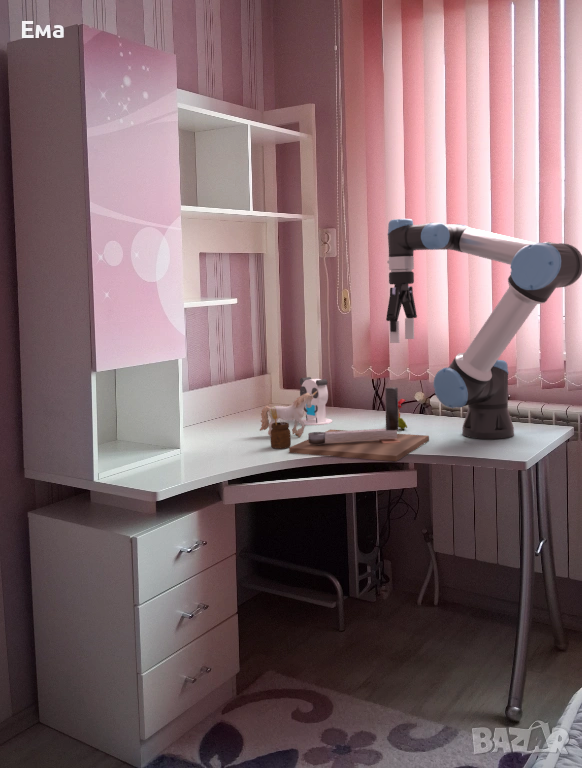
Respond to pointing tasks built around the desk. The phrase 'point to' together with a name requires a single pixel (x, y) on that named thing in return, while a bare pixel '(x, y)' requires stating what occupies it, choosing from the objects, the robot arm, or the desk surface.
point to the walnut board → (364, 447)
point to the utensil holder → (280, 433)
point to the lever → (370, 434)
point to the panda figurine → (315, 401)
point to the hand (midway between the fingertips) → (402, 340)
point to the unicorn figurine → (288, 413)
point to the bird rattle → (400, 421)
